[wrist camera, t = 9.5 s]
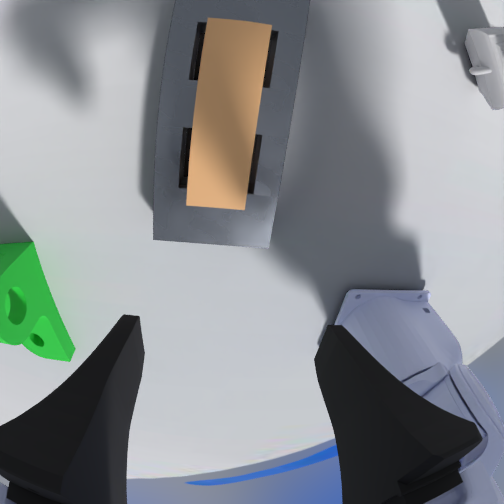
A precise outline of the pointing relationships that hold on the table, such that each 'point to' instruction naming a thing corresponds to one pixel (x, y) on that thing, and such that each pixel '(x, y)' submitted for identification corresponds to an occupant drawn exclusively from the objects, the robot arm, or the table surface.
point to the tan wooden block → (226, 112)
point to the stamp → (488, 62)
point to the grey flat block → (268, 127)
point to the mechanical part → (30, 305)
